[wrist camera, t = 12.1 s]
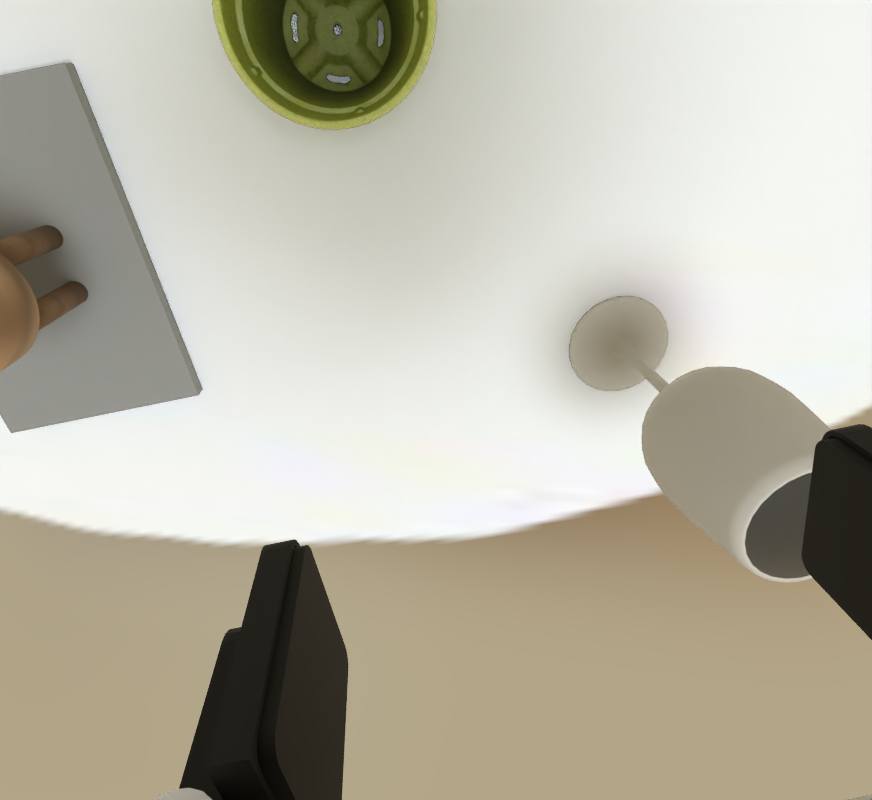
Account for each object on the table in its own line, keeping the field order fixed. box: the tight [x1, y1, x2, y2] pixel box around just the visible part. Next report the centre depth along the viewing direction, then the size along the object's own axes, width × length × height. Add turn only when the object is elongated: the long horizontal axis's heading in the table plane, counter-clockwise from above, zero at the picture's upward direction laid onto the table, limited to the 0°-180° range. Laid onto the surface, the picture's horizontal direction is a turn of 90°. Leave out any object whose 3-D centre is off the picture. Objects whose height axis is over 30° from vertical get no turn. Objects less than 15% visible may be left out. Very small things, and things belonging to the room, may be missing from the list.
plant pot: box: [212, 0, 436, 130], centre depth 29 cm, size 9×9×9 cm
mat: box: [0, 63, 202, 433], centre depth 36 cm, size 20×13×1 cm, turn 10°
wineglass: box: [569, 296, 831, 582], centre depth 33 cm, size 8×8×21 cm
